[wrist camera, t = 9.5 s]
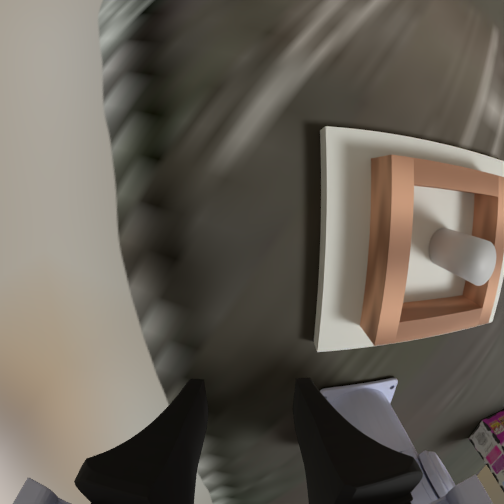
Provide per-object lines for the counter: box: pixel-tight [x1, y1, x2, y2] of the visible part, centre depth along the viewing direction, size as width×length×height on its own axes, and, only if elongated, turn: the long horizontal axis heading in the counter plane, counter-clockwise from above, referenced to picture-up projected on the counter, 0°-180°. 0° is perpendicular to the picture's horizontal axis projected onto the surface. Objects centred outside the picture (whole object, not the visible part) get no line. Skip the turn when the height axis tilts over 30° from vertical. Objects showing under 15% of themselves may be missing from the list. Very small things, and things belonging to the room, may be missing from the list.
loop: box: [360, 155, 504, 346], centre depth 17 cm, size 12×12×3 cm
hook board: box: [314, 126, 504, 352], centre depth 16 cm, size 16×20×6 cm
